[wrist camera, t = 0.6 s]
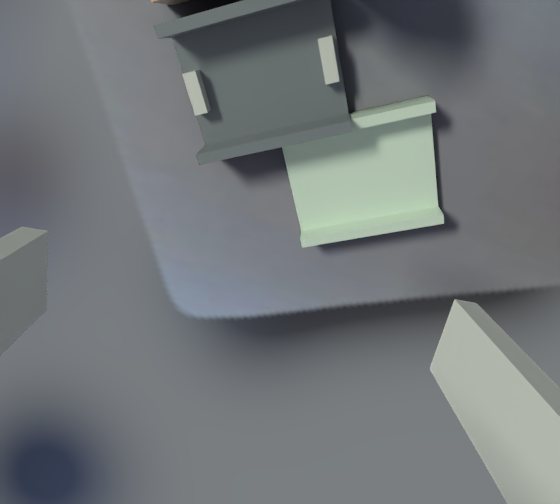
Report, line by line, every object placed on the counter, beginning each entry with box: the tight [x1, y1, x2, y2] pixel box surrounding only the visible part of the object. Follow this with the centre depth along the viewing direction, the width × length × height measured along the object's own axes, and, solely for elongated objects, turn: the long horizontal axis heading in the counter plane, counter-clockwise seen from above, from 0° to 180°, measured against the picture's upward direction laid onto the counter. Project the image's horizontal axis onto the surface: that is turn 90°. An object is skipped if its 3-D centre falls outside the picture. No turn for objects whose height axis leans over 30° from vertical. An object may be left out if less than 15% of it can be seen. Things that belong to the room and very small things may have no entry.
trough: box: [282, 96, 444, 248], centre depth 35 cm, size 12×10×3 cm
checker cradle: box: [154, 0, 352, 165], centre depth 31 cm, size 12×10×4 cm
